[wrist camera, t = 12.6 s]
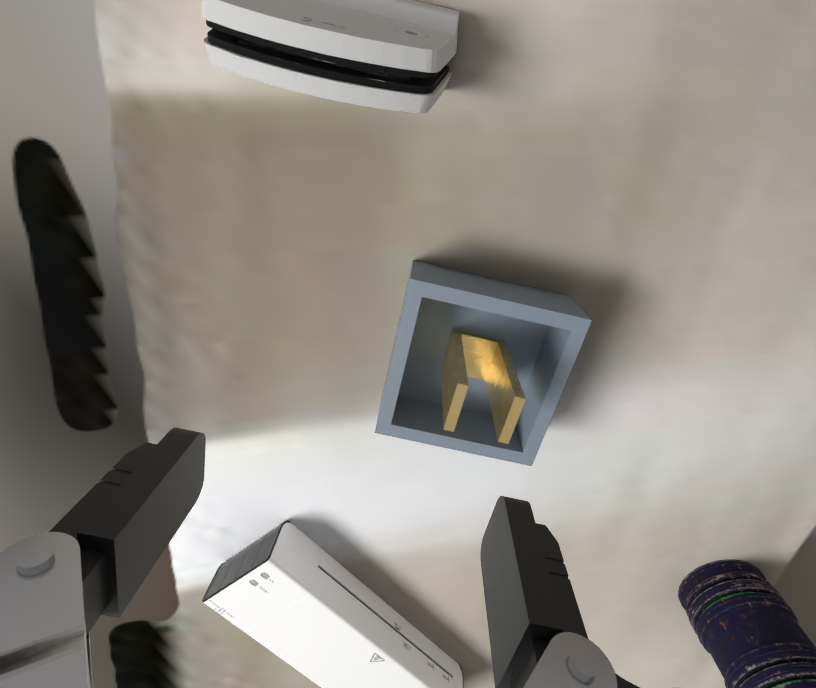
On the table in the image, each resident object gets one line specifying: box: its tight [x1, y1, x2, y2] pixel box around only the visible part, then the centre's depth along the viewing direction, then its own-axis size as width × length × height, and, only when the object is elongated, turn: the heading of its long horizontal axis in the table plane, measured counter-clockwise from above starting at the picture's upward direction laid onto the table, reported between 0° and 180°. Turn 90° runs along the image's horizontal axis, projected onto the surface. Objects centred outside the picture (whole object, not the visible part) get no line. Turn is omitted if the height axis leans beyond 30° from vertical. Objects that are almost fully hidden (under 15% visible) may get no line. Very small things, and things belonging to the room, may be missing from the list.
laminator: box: [202, 521, 464, 688], centre depth 57 cm, size 34×12×6 cm, turn 40°
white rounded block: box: [201, 0, 460, 113], centre depth 30 cm, size 17×5×10 cm, turn 78°
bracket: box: [441, 329, 526, 444], centre depth 38 cm, size 5×4×10 cm
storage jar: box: [678, 560, 816, 688], centre depth 47 cm, size 10×10×15 cm
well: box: [375, 260, 592, 466], centre depth 41 cm, size 14×14×6 cm
